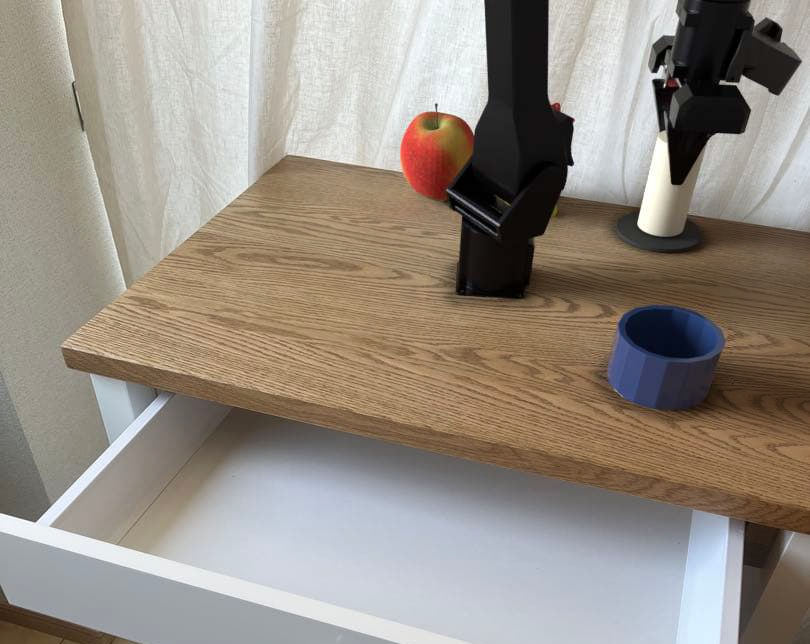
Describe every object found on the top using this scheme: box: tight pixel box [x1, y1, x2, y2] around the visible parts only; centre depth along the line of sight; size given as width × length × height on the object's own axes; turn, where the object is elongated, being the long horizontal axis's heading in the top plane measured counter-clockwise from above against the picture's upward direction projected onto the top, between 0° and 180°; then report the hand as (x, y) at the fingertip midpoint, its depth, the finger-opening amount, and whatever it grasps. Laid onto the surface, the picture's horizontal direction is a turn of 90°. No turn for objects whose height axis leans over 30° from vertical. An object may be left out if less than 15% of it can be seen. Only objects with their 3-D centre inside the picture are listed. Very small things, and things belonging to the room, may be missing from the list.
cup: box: [606, 304, 727, 411], centre depth 67 cm, size 8×8×5 cm
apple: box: [399, 102, 474, 201], centre depth 90 cm, size 8×8×10 cm
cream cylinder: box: [637, 130, 708, 237], centre depth 83 cm, size 5×5×12 cm
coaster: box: [615, 210, 703, 254], centre depth 88 cm, size 9×9×1 cm
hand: (672, 174), depth 84 cm, fingers closed on cream cylinder, 5 cm apart
